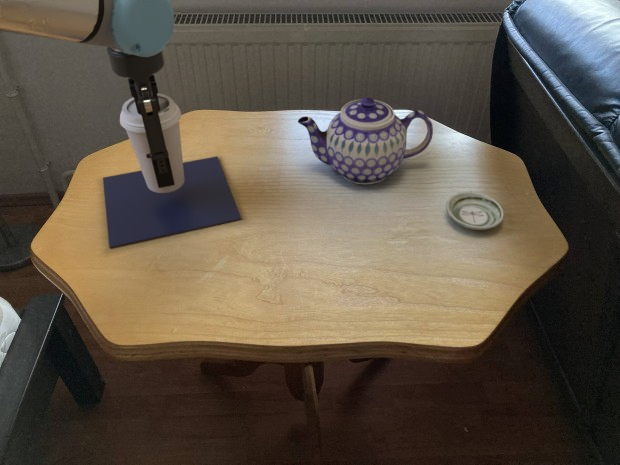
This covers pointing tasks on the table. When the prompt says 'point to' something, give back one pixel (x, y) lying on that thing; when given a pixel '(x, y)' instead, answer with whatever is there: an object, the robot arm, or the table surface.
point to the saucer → (474, 210)
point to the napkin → (167, 204)
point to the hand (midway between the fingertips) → (163, 172)
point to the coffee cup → (140, 145)
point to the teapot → (365, 140)
